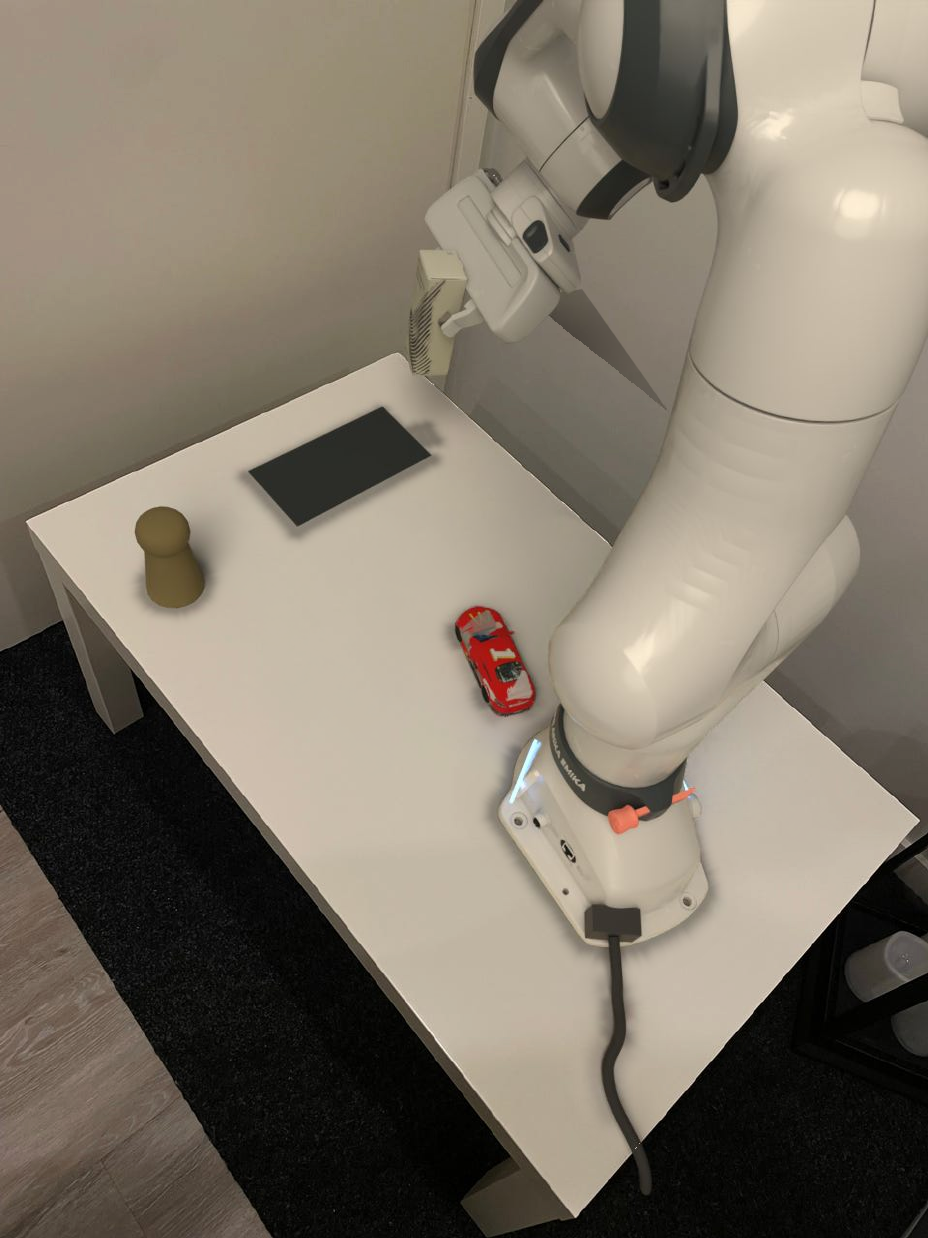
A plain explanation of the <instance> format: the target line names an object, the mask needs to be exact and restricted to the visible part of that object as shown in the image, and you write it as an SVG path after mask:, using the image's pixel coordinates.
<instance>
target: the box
mask: <svg viewBox="0 0 928 1238" xmlns="http://www.w3.org/2000/svg"><path fill="white" fill-rule="evenodd" d="M467 280H468V279H467V275H466V272H465V269H464V266H463V263H462V261H461V259H460V257H459V255H458V253H457V251H456V250H436V249H419V250H418V257H417V263H416V271H415V278H414V284H413V291H412V297H411V303H410V308H409V309H410V311H409V315H408V316H409V317H408V323H407V329H406V337H405V343H404V351H405V355H406V359H407V362H408V365H409V369H410V372H411V375H412V376H414V377H422V376H423V377H438V376H439V377H440V376H448V375H449V371H450V366H451V362H452V356H453V351H454V346H455V342H456V338H457V333H456V334H455V335H454V336H453V337H450V338H449V337H447V336H446V335H445V334H443V333H442V331H441V329H440V327H439V325H438V320H439V319H440V318H442V317H443V315H444V314H445V313H446V312H447V311H449V312H450V313H451V314H452V315H453V314H456V313H458V312H461V311H462V309H463V304H464V299H465V294H466V291H467V290H466V285H467Z"/></svg>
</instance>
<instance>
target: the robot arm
mask: <svg viewBox="0 0 928 1238" xmlns="http://www.w3.org/2000/svg"><path fill="white" fill-rule="evenodd" d="M472 71H473V72H472V74H473V75H472V78H473V82H472V83H473V93H474V96H475V97H476V98H477V99H478V100H479V101H480V102H481V104H482V105H484V107H485V108H486V109H487V110H488V111H489V112H490V113H491V114H492V116H493V117H494V118H495V120H497V121H499V122H500V123H501V125H502V127H504V129H505V131H507V132H508V134H509V135H510V137H511V138H512V140H514V142H515V143H516V145H518V146H519V149H520V150H521V151H522V152H523V153H524V155H525V156H526V157H525V158H524V159H523V160H522V161H521V162H520V163H519V164H518V165H517V166H516V167H515V168H514V169H512V171H510V173H509V174H507V176H506V177H504V179H503V178H502V175H501V174H500V172H499V170H497V169H496V168H494V167H490V168H489V167H483V168H478V169H477V170H476V171H474V172H473V173H472V174H471V175H469V176H466V177H464V178H463V179H461V180H459V181H457V183H456V184H454V185H453V186H452V187H450V188H449V189H448V190H447V191H445V193H443V194H442V195H441V196H440V197H439V198H438V199H436V200H435V201H434V202H433V203H432V204H431V205H430V206H429V207H428V208H427V210H426V213H425V215H424V218H423V220H424V223H425V225H426V227H427V228H428V230H429V232H430V233H431V235H432V236H433V238H434V240H435V241H436V243H437V245H438V246H437V247H436V248H435V250H456V251H457V253H458V255H459V257H460V259H461V261H462V263H463V266H464V269H465V272H466V275H467V279H468V280H467V285H466V290H465V291H466V292H467V293H468V296H469V297H470V299H469V300H468V301H467V302H466V303H465V304H464V305H463V306H464V310H461V312H458V313H456V314H453V315H452V314H451V313H450V312H449V311H447V312H446V313H445V314H444V315H443V317H442V318H440V319H439V320H438V325H439V327H440V329H441V331H442V333H443V334H445V335H446V336H447V337H449V338H450V337H453V336H454V335H455V334H456V335H457V333H459V331H460V330H462V329H467V328H470V327H473V326H477V325H480V324H481V323H483V321H485V323H486V324H487V326H488V328H489V329H490V331H491V332H492V333H493V334H494V335H495V336H496V337H497V338H498V339H499V340H501V341H502V342H503V343H504V344H506V345H513V344H518V343H519V342H521V341H523V340H524V339H525V338H526V337H528V335H530V334H531V333H532V332H533V331H534V330H536V329H537V328H538V327H539V326H540V325H541V324H542V323H543V322H544V321H545V320H546V319H547V318H548V316H550V314H552V312H553V311H554V310H555V309H556V308H557V306H558V304H559V302H560V299H561V291H562V292H563V294H571V293H572V292H574V291H575V290H576V289H577V288H578V287H579V286H580V285H581V282H582V277H581V271H580V268H579V264H578V259H577V254H576V248H575V243H574V240H573V239H574V238H575V237H576V236H577V235H578V234H580V233H581V232H582V231H583V230H584V228H585V227H586V225H587V224H588V223H589V221H590V219H593V220H603V221H610V220H612V219H613V217H614V216H615V215H616V214H617V213H618V212H619V210H620V209H622V208H623V207H624V206H625V205H626V204H627V203H628V202H629V201H630V200H631V199H633V197H635V196H636V195H637V194H638V193H640V192H641V191H642V190H643V189H645V188H646V187H648V186H649V185H650V184H651V183H653V186H654V191H655V193H656V196H657V197H658V198H660V199H662V200H664V201H666V202H669V203H671V204H673V203H677V202H679V201H681V200H683V199H684V198H685V197H686V196H687V195H689V193H690V192H691V191H692V189H693V188H694V187H695V184H696V183H697V181H698V180H699V179H700V177H701V175H703V176H704V178H705V180H706V181H707V184H708V186H709V188H710V191H711V193H712V196H713V199H714V200H713V201H714V205H715V211H716V218H717V233H716V241H715V247H714V252H713V257H712V261H711V266H710V269H709V272H708V275H707V279H706V282H705V285H704V287H703V291H702V295H701V298H700V301H699V305H698V308H697V310H696V314H695V318H694V321H693V326H692V330H691V333H690V337H689V340H688V341H689V342H688V345H687V349H686V353H685V357H684V361H683V364H682V370H681V372H680V373H681V374H680V376H679V380H678V385H677V389H676V393H675V397H674V401H673V405H672V408H671V412H670V416H669V419H668V423H667V426H666V430H665V435H664V438H663V442H662V446H661V448H660V451H659V454H658V456H657V459H656V462H655V463H654V466H653V469H652V470H651V473H650V475H649V477H648V479H647V481H646V483H645V485H644V487H643V489H642V491H641V493H640V495H639V497H638V498H637V500H636V502H635V504H634V506H633V508H632V510H631V512H630V514H629V516H628V517H627V519H626V521H625V523H624V524H623V527H622V529H621V530H620V532H619V534H618V536H617V538H616V540H615V541H614V544H613V545H612V547H611V549H610V551H609V553H608V554H607V556H606V558H605V559H604V562H603V563H602V565H601V567H600V568H599V570H598V572H597V574H596V575H595V577H594V578H593V580H592V581H591V583H590V584H589V586H588V587H587V589H586V590H585V592H584V593H583V594H582V596H581V597H580V598H579V600H578V601H577V602H576V604H575V605H574V606H573V607H572V609H570V611H569V612H568V613H567V614H566V616H564V618H563V619H562V621H561V622H560V623H559V624H558V625H557V626H556V628H555V629H554V631H553V632H552V634H551V636H550V638H549V643H548V652H547V657H548V658H547V661H548V662H547V663H548V672H549V676H550V680H551V681H550V682H551V685H552V687H553V690H554V692H555V695H556V697H557V699H558V701H559V704H558V706H557V708H556V709H555V712H554V713H553V715H552V717H551V721H550V725H549V726H548V727H546V728H544V729H542V730H541V731H539V732H537V733H536V734H535V735H533V736H532V737H531V738H530V739H529V740H528V741H527V743H526V744H525V745H524V747H523V748H522V749H521V751H520V753H519V755H518V757H517V759H516V762H515V767H514V769H513V776H512V782H511V786H510V789H509V791H508V792H507V793H506V794H505V796H504V797H503V799H502V801H501V802H500V804H499V806H498V808H497V809H498V810H497V818H498V819H499V822H500V823H501V824H502V826H503V827H504V829H505V830H506V832H507V834H509V836H510V838H511V839H512V840H513V841H514V843H515V845H516V846H517V848H518V849H519V850H520V852H521V854H522V855H523V856H524V858H525V859H526V861H527V863H528V864H529V865H530V866H531V868H532V870H533V871H534V873H535V874H536V875H537V877H538V878H539V879H540V881H541V882H542V884H543V885H544V887H545V888H546V890H547V891H548V893H549V895H550V896H551V897H552V899H553V900H554V901H555V903H556V904H557V906H558V907H559V909H560V910H561V912H562V914H563V915H564V916H565V917H566V919H567V920H568V922H569V923H570V925H571V926H572V927H573V929H574V930H575V932H576V933H577V935H578V936H579V938H581V940H582V941H583V942H584V943H585V944H587V945H591V946H593V947H594V946H595V947H599V948H608V952H609V953H608V955H609V964H610V965H609V966H610V977H611V979H610V981H611V1005H612V1013H613V1021H614V1023H613V1024H614V1029H613V1036H612V1039H611V1041H610V1043H609V1045H608V1047H607V1049H606V1052H605V1053H604V1056H603V1059H602V1064H601V1076H602V1085H603V1090H604V1094H605V1097H606V1101H607V1104H608V1107H609V1108H610V1110H611V1113H612V1115H613V1117H614V1120H615V1121H616V1123H617V1125H618V1127H619V1129H620V1131H621V1133H622V1135H623V1137H624V1139H625V1141H626V1142H627V1145H628V1147H629V1148H630V1151H631V1153H632V1155H633V1159H634V1161H635V1164H636V1167H637V1170H638V1178H639V1179H638V1180H639V1190H640V1191H641V1193H642V1194H643V1195H644V1196H649V1195H650V1194H651V1193H652V1188H653V1187H652V1186H653V1179H652V1171H651V1167H650V1162H649V1159H648V1156H647V1154H646V1151H645V1149H644V1146H643V1144H642V1142H641V1139H640V1138H639V1135H638V1134H637V1132H636V1130H635V1128H634V1126H633V1124H632V1122H631V1121H630V1119H629V1117H628V1115H627V1113H626V1111H625V1109H624V1106H623V1104H622V1102H621V1100H620V1096H619V1093H618V1090H617V1086H616V1081H615V1064H616V1062H617V1059H618V1058H619V1056H620V1053H621V1051H622V1049H623V1047H624V1043H625V1039H626V1035H627V1034H626V1032H627V1019H626V1018H627V1017H626V1011H625V1005H624V1004H625V1003H624V981H623V980H624V979H623V964H622V953H621V947H627V946H632V945H636V944H639V943H643V942H645V941H649V940H650V939H654V938H655V937H658V936H660V935H662V934H664V933H666V932H668V931H670V930H672V929H673V928H675V927H677V926H678V925H680V924H682V922H684V921H686V919H688V918H689V917H690V916H691V915H693V913H694V912H695V911H696V910H697V909H698V907H700V905H701V904H702V902H703V901H704V900H705V897H706V896H707V893H708V892H709V882H708V879H707V876H706V873H705V870H704V866H703V863H702V861H701V848H700V844H699V839H698V834H697V830H696V827H695V826H696V825H695V824H694V823H695V822H694V820H695V819H699V817H701V816H702V814H703V809H702V803H701V801H700V799H699V797H698V796H697V795H696V794H694V792H695V791H696V790H697V788H696V787H691V788H688V786H687V784H686V782H685V779H684V778H685V773H686V769H687V763H688V757H689V756H690V755H691V754H692V753H693V751H694V750H695V749H696V748H697V747H698V745H700V743H701V742H702V741H703V740H704V739H705V738H706V737H707V736H708V735H709V734H710V733H711V731H712V730H713V729H715V728H716V727H717V726H718V725H719V724H720V723H721V722H722V721H723V720H724V719H725V718H726V717H728V715H729V714H730V713H731V712H733V710H734V709H735V708H737V706H738V705H740V704H741V703H742V702H743V701H744V700H745V699H746V698H747V697H748V696H749V695H750V694H751V693H752V692H753V691H755V689H756V688H757V687H759V685H760V684H761V683H762V682H763V681H764V680H765V679H766V678H767V677H768V676H770V674H771V673H773V671H775V669H776V668H777V667H778V666H779V665H781V664H782V663H783V661H784V660H786V659H787V658H788V656H789V655H791V654H792V653H793V651H795V650H796V649H797V648H798V647H799V645H800V644H801V643H802V642H803V641H804V640H806V639H807V637H808V636H810V634H811V633H813V631H814V630H815V629H816V628H817V627H818V626H819V625H820V624H821V623H822V622H823V621H824V620H825V618H827V616H828V615H829V614H830V613H831V611H832V610H833V609H834V608H835V606H836V604H838V602H839V601H840V600H841V598H842V596H843V595H844V594H845V593H846V591H847V589H848V588H849V586H850V585H851V583H852V582H853V580H854V578H855V577H856V575H857V574H858V570H859V567H860V562H861V546H860V541H859V536H858V534H857V531H856V528H855V526H854V524H853V522H852V521H851V519H850V517H849V516H848V514H847V513H848V512H849V509H850V508H851V506H852V504H853V502H854V499H855V497H856V496H857V493H858V492H859V489H860V487H861V484H862V483H863V481H864V479H865V476H866V474H867V473H868V470H869V468H870V466H871V464H872V462H873V460H874V458H875V456H876V453H877V451H878V449H879V447H880V444H881V442H882V440H883V438H884V436H885V434H886V432H887V430H888V427H889V426H890V424H891V421H892V419H893V417H894V415H895V412H896V411H897V409H898V407H899V405H900V402H901V400H902V398H903V396H904V394H905V391H906V389H907V387H908V385H909V383H910V380H911V378H912V376H913V373H914V372H915V369H916V367H917V364H918V362H919V360H920V357H921V355H922V352H923V350H924V347H925V344H926V342H927V339H928V0H516V1H515V3H514V4H513V5H512V6H510V8H508V9H506V11H505V12H503V13H502V14H501V15H500V16H499V17H498V18H497V19H496V20H495V21H494V22H493V23H492V24H491V26H490V27H489V28H488V29H487V31H486V33H485V34H484V36H483V38H482V39H481V41H480V43H479V46H478V47H477V49H476V51H475V53H474V57H473V69H472ZM515 820H516V821H517V820H518V821H519V822H520V825H517V824H516V823H515ZM564 892H565V893H564ZM684 900H687V902H688V905H686V904H685V903H684ZM639 1143H640V1144H639ZM636 1147H637V1148H636ZM635 1148H636V1149H635Z"/></svg>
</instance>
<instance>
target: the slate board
mask: <svg viewBox="0 0 928 1238" xmlns="http://www.w3.org/2000/svg"><path fill="white" fill-rule="evenodd" d="M430 457H432V454H431V453H430V452H429V451H428V450H427V449H426V448H425V446H424V445H422V444H421V442H419V441H418V440H417V439H416V438H415V436H413V435H412V434H411V433H410V432H409V431H408V430H407V429H406V428H405V427H404V426H403V425H402V424H401V423H400V422H399V421H398V420H397V419H396V418H395V417H394V416H393V415H392V414H391V413H390V412H389V411H388V410H387V409H386V408H384V406H380V407H378V408H376V409H373V410H372V411H369V412H368V413H365V414H363V415H361V416H359V417H357V418H354V419H353V420H351V421H350V422H347V423H344V424H343V425H341V426H339V427H336V428H335V429H332V430H331V431H328V432H327V433H324V434H322V435H320V436H318V437H316V438H314V439H312V440H309V441H308V442H306V443H304V444H301V445H299V446H298V447H295V448H293V449H291V450H289V451H287V452H285V453H283V454H281V455H279V456H277V457H275V458H273V459H270V460H268V461H266V462H264V463H261V464H260V465H258V466H256V467H254V468H252V469H249V470H248V471H247V472H248V473H249V474H250V475H251V477H252V478H253V479H254V480H255V481H256V483H257V484H258V485H259V486H260V487H261V488H262V489H263V490H264V491H265V492H266V493H267V495H268V496H269V497H270V498H271V499H272V500H273V502H275V503H276V505H277V506H278V507H279V508H280V509H281V510H282V511H283V513H284V514H285V515H286V516H287V517H288V518H289V520H290V521H292V523H293V524H294V525H295V526H296V527H297V528H298V527H300V526H302V525H303V524H305V523H307V522H309V521H311V520H313V519H315V518H317V517H319V516H321V515H323V514H324V513H326V512H328V511H330V510H332V509H333V508H336V507H338V506H339V505H342V504H344V503H345V502H348V500H351V499H352V498H354V497H357V496H358V495H360V494H362V493H364V492H366V491H367V490H369V489H372V488H373V487H375V486H377V485H379V484H381V483H382V482H385V481H386V480H388V479H390V478H392V477H394V476H396V475H397V474H399V473H401V472H404V471H405V470H407V469H409V468H411V467H413V466H415V465H417V464H418V463H420V462H422V461H424V460H427V459H428V458H430Z"/></svg>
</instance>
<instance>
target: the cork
mask: <svg viewBox="0 0 928 1238" xmlns="http://www.w3.org/2000/svg"><path fill="white" fill-rule="evenodd" d="M134 537H135V539H136V542H137V544H138V545H139V547H140V548H141V549H142V551H143V553H144V554H143V555H144V556H143V557H144V574H145V588H146V593H147V595H148V597H149V598H150V600H151V601H152V602H153V603H155V604H156V605H158V606H160V607H162V608H163V607H164V608H167V609H180V608H184V607H187V606H189V605H191V604H193V603H195V602H196V601H197V600H198V599H199V598H200V597H201V596H202V593H203V592H204V590H205V583H206V582H205V578H204V575H203V572H202V571H201V568H200V566H199V564H198V561H197V559H196V556H195V554H194V552H193V550H192V548H191V545H190V543H189V542H190V539H191V526H190V522H189V521H188V519H187V518H186V516H185V515H184V514H183V513H182V512H180V511H179V510H177V509H175V508H174V507H170V506H165V505H164V506H163V505H160V506H154V507H152V508H151V507H150V508H149V509H147V510H146V511H144V512H143V513H142V514H141V515H140V516H138V519H137V520H136V522H135V525H134Z"/></svg>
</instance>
